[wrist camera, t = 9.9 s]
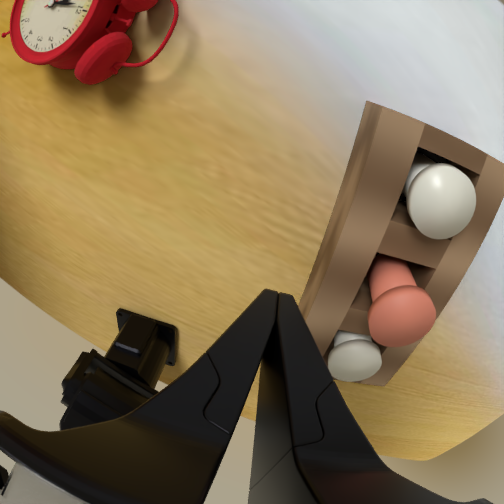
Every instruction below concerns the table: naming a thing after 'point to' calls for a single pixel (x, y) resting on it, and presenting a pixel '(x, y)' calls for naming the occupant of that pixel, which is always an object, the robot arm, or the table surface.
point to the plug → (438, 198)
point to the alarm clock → (79, 34)
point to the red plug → (397, 303)
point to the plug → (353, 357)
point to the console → (392, 230)
